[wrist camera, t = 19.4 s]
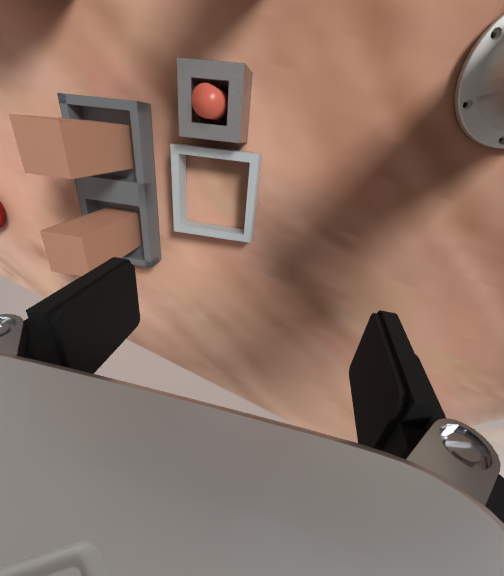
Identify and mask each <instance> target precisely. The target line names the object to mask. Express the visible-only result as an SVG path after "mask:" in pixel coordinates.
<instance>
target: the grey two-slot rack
mask: <svg viewBox="0 0 504 576" xmlns="http://www.w3.org/2000/svg"><path fill="white" fill-rule="evenodd" d="M57 94H58V99H59V104H60V109H61V114H62V118H66V119H79V120H91V121H101V122H109V123H117V124H125V125H131V129H132V139H133V149H134V159H135V168H133V169H127V170H121V171H116V172H110V173H104V174H99V175H93V176H87V177H82V178H76V179H75V183H76V188H77V193H78V198H79V202H80V207H81V212H82V216H84V215H87V214H89V213H92V212H95V211H98V210H101V209H104V208H107V207H110V208H117V209H123V210H130V211H137V212H139V213H140V223H141V233H142V243H143V244H142V245H141V246H139V247H137V248H136V249H134V250H133V251H131V252H130V253H128V254H127V255H125V256H124V257H122V258H123V259H128V260H130V262H131V264H133V265H139V266H145V267H151V268H152V267H153V266H154V265H155V264H157V263H158V262H159V261H160V260H161V248H160V234H159V219H158V205H157V191H156V176H155V162H154V147H153V133H152V118H151V104H148V103H143V102H138V101H131V100H121V99H111V98H101V97H92V96H82V95H72V94H62V93H57Z"/></svg>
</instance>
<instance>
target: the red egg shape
mask: <svg viewBox="0 0 504 576" xmlns="http://www.w3.org/2000/svg"><path fill="white" fill-rule="evenodd" d="M191 100H192V106H193V108H194V110H195V112H196V113H197V114H198V115H199V116H201V117H203V118H208V119H213V120H223V119H225V118H226V117H227V113H228V95H227V94H226V93H225V92H224V91H222V90H220V89H218V88H217V87H215V86H213V85H211V84H209V83H201V84H199V85H197V86H196V87H195V89H194V90H193V93H192V99H191Z"/></svg>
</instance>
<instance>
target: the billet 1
mask: <svg viewBox="0 0 504 576" xmlns="http://www.w3.org/2000/svg"><path fill="white" fill-rule="evenodd" d="M9 116H10V120H11V123H12V127H13V131H14V134H15V138H16V141H17V145H18V149H19V152H20V156H21V160H22V163H23V167H24V171H25V173H31V174H38V175H44V176H51V177H58V178H65V179H76V178H82V177H87V176H93V175H99V174H104V173H110V172H116V171H121V170H127V169H133V168H135V159H134V149H133V139H132V129H131V125H125V124H117V123H109V122H101V121H91V120H79V119H66V118H53V117H40V116H28V115H15V114H9Z"/></svg>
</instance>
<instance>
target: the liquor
mask: <svg viewBox="0 0 504 576" xmlns="http://www.w3.org/2000/svg"><path fill="white" fill-rule="evenodd" d="M4 220H5V210H4V207H3V205H2V203H1V202H0V228H1V227H2V226H3V224H4Z"/></svg>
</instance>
